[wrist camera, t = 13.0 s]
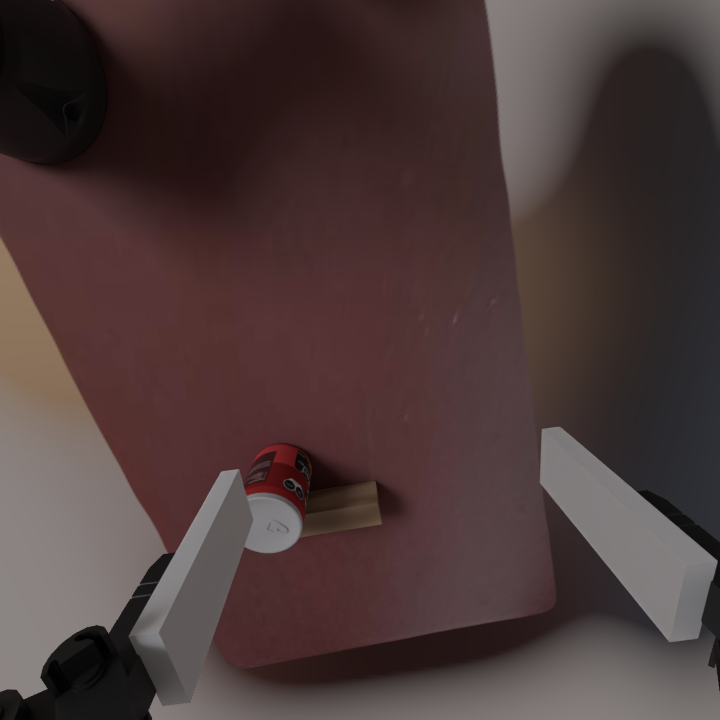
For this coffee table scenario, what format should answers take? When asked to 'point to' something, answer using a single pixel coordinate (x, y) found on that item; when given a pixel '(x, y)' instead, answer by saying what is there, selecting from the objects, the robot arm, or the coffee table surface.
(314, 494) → the board
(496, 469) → the coffee table surface
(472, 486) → the coffee table surface
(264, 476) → the canned food
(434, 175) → the coffee table surface
